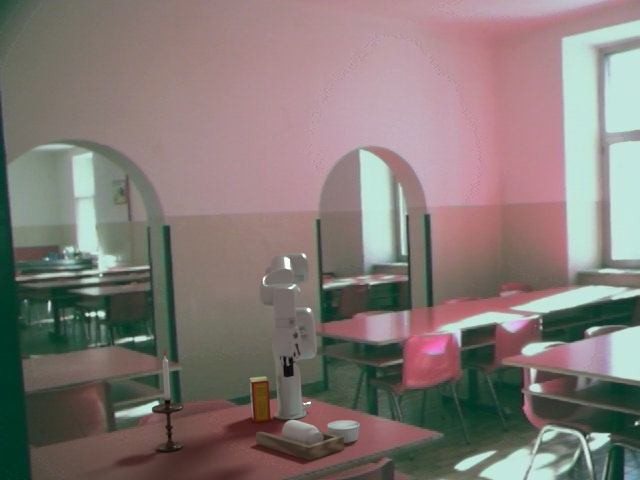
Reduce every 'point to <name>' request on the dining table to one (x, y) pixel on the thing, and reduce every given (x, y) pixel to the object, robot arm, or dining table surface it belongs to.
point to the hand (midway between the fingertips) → (288, 376)
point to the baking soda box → (260, 399)
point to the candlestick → (168, 412)
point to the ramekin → (345, 429)
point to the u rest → (302, 445)
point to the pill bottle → (301, 432)
